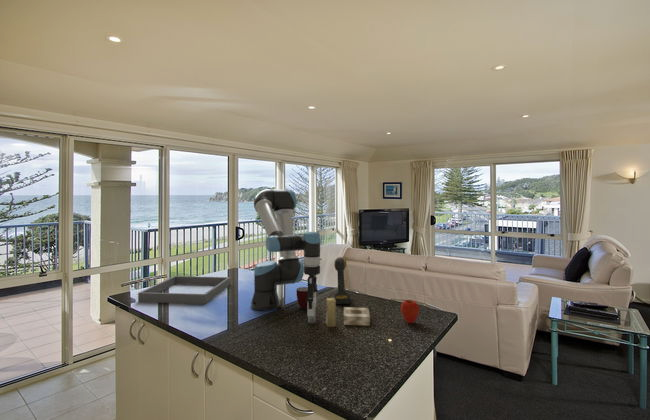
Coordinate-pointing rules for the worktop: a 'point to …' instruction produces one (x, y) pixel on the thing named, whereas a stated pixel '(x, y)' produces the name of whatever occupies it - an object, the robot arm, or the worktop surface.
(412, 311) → the apple
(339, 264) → the cordless drill
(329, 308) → the square bit
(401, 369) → the worktop surface
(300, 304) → the mug
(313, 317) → the round bit
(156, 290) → the frame
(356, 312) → the bore block
